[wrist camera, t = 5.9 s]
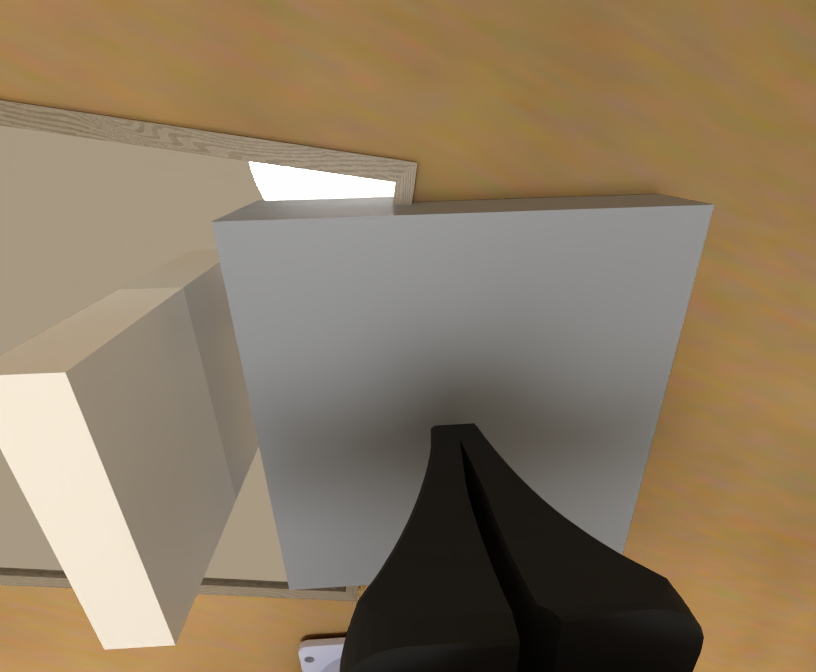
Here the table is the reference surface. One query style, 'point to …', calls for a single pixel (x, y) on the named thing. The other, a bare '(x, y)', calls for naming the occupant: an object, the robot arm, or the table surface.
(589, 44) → the table surface
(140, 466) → the tile
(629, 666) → the robot arm
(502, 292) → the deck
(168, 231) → the picture frame
